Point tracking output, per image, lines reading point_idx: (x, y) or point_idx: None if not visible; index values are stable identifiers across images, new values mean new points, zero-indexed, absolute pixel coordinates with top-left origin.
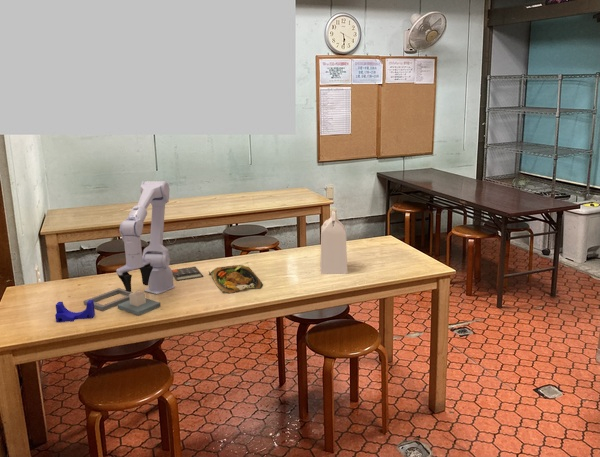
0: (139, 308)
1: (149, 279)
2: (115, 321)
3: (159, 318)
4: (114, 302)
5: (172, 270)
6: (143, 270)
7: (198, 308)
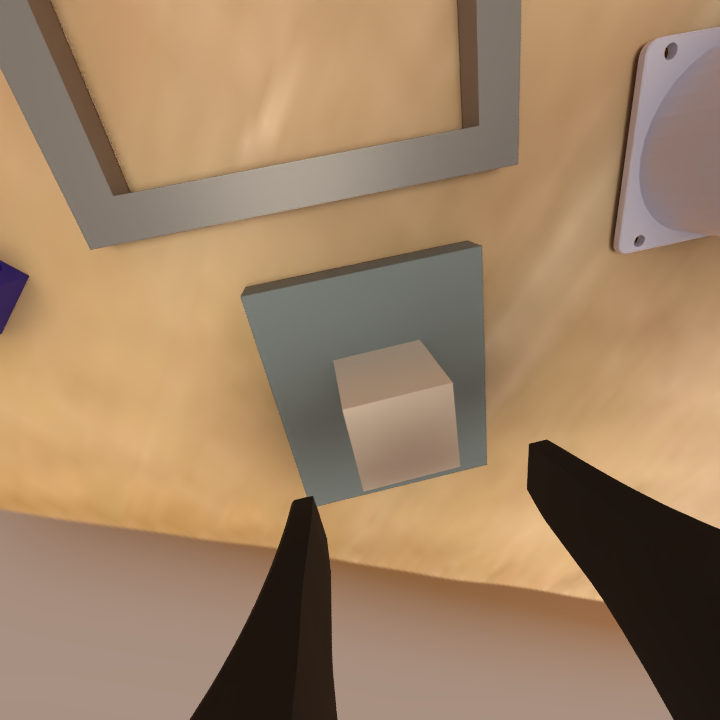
0: (343, 469)
1: None
2: (157, 479)
3: (373, 563)
4: (240, 217)
5: None
6: (698, 659)
7: (559, 562)
